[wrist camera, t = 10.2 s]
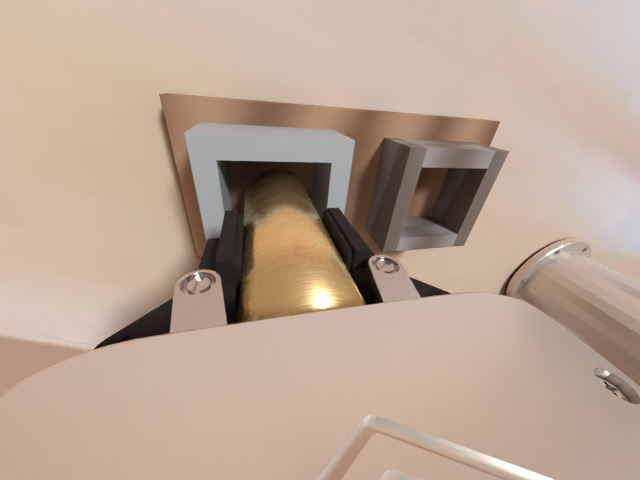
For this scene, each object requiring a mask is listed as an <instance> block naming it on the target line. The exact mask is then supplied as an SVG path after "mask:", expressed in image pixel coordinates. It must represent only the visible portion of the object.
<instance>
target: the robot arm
mask: <svg viewBox="0 0 640 480" xmlns="http://www.w3.org/2000/svg"><path fill="white" fill-rule="evenodd" d="M322 222H323V224H324V226H325V228H326V230H327V232H328V233H329V235H330V237H331V239H332V241H333V243H334V245H335V247H336V248H337V250H338V252H339V254H340V256H341V258H342V260H343V262H344V263H345V265H346V267H347V269H348V271H349V273H350V275H351V276H352V278H353V280H354V282H355V284H356V286H357V288H358V290H359V291H360V293H361V295H362V297H363V299H364V301H365V303H366V305H362V306H355V307H347V308H340V309H333V310H326V311H319V312H311V313H304V314H297V315H290V316H283V317H276V318H269V319H262V320H255V321H248V322H241V323H238V311H239V293H240V283H241V280H242V261H243V240H244V220H243V213H238V210H234V211H225V214H224V219H223V224H222V229H221V233H220V238H209V239H208V240H207V243H206V246H205V250H204V253H203V256H202V260H201V263H200V267H199V270H196V271H193V272H190V273H188V274H185V275H184V276H182V277H181V278H180V279H179V280H178V281H177V282H176V284H175V286H174V294H173V298H172V299H171V300H169V301H167V302H166V303H164V304H163V305H161V306H159V307H158V308H156V309H154V310H153V311H151V312H149V313H148V314H146V315H144V316H143V317H141V318H140V319H138V320H136V321H135V322H133V323H131V324H130V325H128V326H126V327H125V328H123V329H122V330H120V331H118V332H117V333H115V334H113V335H112V336H110V337H108V338H107V339H105V340H104V341H103V342H101V343H100V344H99V345H97V346H96V347H95V349H94V350H91V351H88V352H85V353H82V354H79V355H77V356H74V357H72V358H69V359H67V360H64V361H62V362H59V363H57V364H54V365H52V366H50V367H47V368H45V369H43V370H41V371H39V372H37V373H35V374H33V375H31V376H29V377H27V378H26V379H23V380H22V381H20V382H18V383H17V384H15V385H14V386H12V387H10V388H9V389H8V390H6V391H4V392H3V393H2V394H0V480H640V283H638V282H636V281H634V280H632V279H630V278H628V277H626V276H624V275H622V274H620V273H618V272H616V271H614V270H612V269H610V268H608V267H606V266H604V265H602V264H600V263H598V262H596V261H594V260H592V259H590V255H591V248H590V245H589V244H588V243H586V242H584V241H582V240H580V239H576V238H570V239H564V240H561V241H558V242H556V243H553V244H551V245H549V246H547V247H545V248H544V249H542V250H541V251H539V252H538V253H536V254H535V255H534V256H532V257H531V258H530V259H529V260H527V261H526V262H525V263H524V264H523V265H522V266H521V267H520V268H519V270H518V271H517V272H516V273H515V274H514V276H513V277H512V279H511V280H510V282H509V284H508V287H507V290H506V296H504V295H498V294H492V293H479V292H477V293H456V294H451V293H449V292H446V291H444V290H441V289H439V288H436V287H434V286H431V285H428V284H426V283H423V282H421V281H418V280H416V279H413V278H411V277H409V276H408V274H407V273H406V271H405V269H404V267H403V266H402V264H401V263H400V262H399V261H398V260H396V259H394V258H392V257H390V256H386V255H374V254H373V252H372V251H371V250H370V248H369V247H368V246H367V244H366V243H365V242H364V240H363V239H362V238H361V236H360V235H359V234H358V232H357V231H355V229H354V228H353V226H352V225H351V224H350V222H349V221H348V220H347V218H346V217H345V216H344V214H343V213H342V211H341V210H340V209H339V208H327V211H324V212H323V220H322Z"/></svg>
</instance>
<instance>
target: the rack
mask: <svg viewBox="0 0 640 480" xmlns="http://www.w3.org/2000/svg"><path fill="white" fill-rule="evenodd" d="M184 134H185V139H186V144H187V149H188V154H189V159H190V164H191V169H192V173H193V178H194V183H195V188H196V193H197V198H198V203H199V208H200V212H201V217H202V222H203V227H204V232H205V237H206V242H207V240H208V239H209V238H220V233H221V229H222V224H223V219H224V214H225V211H232V205H231V197H230V189H229V181H228V173H227V165H226V161H273V162H315V165H314V180H313V195H312V204H313V205H314V207H315V209H316V211H317V213H318V215H319V217H320V218H321V220H323V212H324V211H327V208H339V209H340V210H341V211H342V213H343V214H344V213H345V206H346V199H347V193H348V186H349V179H350V172H351V166H352V159H353V152H354V146H355V140H353V139H351V138H349V137H347V136H345V135H343V134H341V133H339V132H337V131H335V130H324V129H307V128H289V127H272V126H255V125H237V124H220V123H203V122H199V123H198V124H196V125H195V126H193V127H192V128H190V129H189V130H187V131H186V132H185V133H184Z"/></svg>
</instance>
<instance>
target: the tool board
mask: <svg viewBox="0 0 640 480" xmlns="http://www.w3.org/2000/svg"><path fill="white" fill-rule="evenodd" d="M159 95H160V99H161V103H162V108H163V112H164V116H165V120H166V125H167V129H168V133H169V137H170V141H171V146H172V150H173V154H174V158H175V162H176V167H177V171H178V175H179V179H180V184H181V188H182V192H183V196H184V200H185V205H186V209H187V213H188V217H189V221H190V226H191V230H192V234H193V238H194V243H195V247H196V251H197V255H198V257H200V256H203V253H204V250H205V246H206V243H207V242H206V237H205V232H204V227H203V222H202V217H201V212H200V208H199V203H198V198H197V193H196V188H195V183H194V178H193V173H192V169H191V164H190V159H189V154H188V149H187V144H186V139H185V134H184V133H185V132H186V131H187V130H189V129H190V128H192V127H193V126H195V125H196V124H198V123H199V122H203V123H220V124H237V125H255V126H272V127H289V128H307V129H324V130H335V131H337V132H339V133H341V134H343V135H345V136H347V137H349V138H351V139H353V140H355V146H354V152H353V159H352V166H351V172H350V179H349V186H348V193H347V199H346V206H345V213H344V216H345V217H346V218H347V220H348V221H349V222H350V224H351V225H352V226H353V228H354V229H355V231H357V232H358V234H359V235H360V236H361V238H362V239H363V240H364V242H365V243H366V244H367V245H368V244H377V246H378V247H379V248H380V249H381V251H382V252H391V251H403V250H415V249H428V248H440V247H452V246H464V244H465V242H466V240H467V238H468V236H469V234H470V232H471V230H472V228H473V226H474V223H475V221H476V219H477V217H478V215H479V213H480V211H481V209H482V207H483V205H484V203H485V201H486V199H487V196H488V194H489V192H490V190H491V188H492V186H493V184H494V182H495V180H496V178H497V176H498V174H499V171H500V169H501V167H502V165H503V163H504V161H505V159H506V157H507V155H508V153H509V151H505V150H501V149H497V148H493V147H489V146H490V144H491V142H492V139H493V137H494V135H495V132H496V130H497V128H498V125H499V123H500V122H498V121H491V120H483V119H471V118H459V117H446V116H434V115H422V114H410V113H398V112H386V111H374V110H362V109H350V108H338V107H325V106H313V105H301V104H289V103H277V102H265V101H253V100H241V99H229V98H217V97H205V96H192V95H180V94H168V93H166V94H159ZM226 165H227V173H228V181H229V189H230V197H231V205H232V211H234V210H238V213H243V220H244V204H245V192H246V189H247V187H248V185H249V183H250V182H251V180H252V179H253V178H254V177H256V176H257V175H258V174H260V173H262V172H265V171H268V170H283V171H286V172H289V173H291V174H292V175H294V176H295V177H296V178H298V179H299V181H300V182H301V183H302V185H303V187H304V189H305V190H306V192H307V194H308V196H309V198H310V200H311V202H312V195H313V180H314V165H315V162H273V161H226Z"/></svg>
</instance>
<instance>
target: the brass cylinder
mask: <svg viewBox="0 0 640 480" xmlns="http://www.w3.org/2000/svg"><path fill="white" fill-rule="evenodd" d="M362 305H366V303H365V301H364V299H363V297H362V295H361V293H360V291H359V290H358V288H357V286H356V284H355V282H354V280H353V278H352V276H351V275H350V273H349V271H348V269H347V267H346V265H345V263H344V262H343V260H342V258H341V256H340V254H339V252H338V250H337V248H336V247H335V245H334V243H333V241H332V239H331V237H330V235H329V233H328V232H327V230H326V228H325V226H324V224H323V222H322V220H321V218H320V217H319V215H318V213H317V211H316V209H315V207H314V205H313V204H312V202H311V200H310V198H309V196H308V194H307V192H306V190H305V189H304V187H303V185H302V183H301V182H300V181H299V179H298V178H296V177H295V176H294V175H292V174H291V173H289V172H286V171H283V170H268V171H265V172H262V173H260V174H258V175H257V176H256V177H254V178H253V179H252V180H251V182H250V183H249V185H248V187H247V189H246V192H245V204H244V240H243V261H242V280H241V283H240V293H239V311H238V323H241V322H248V321H255V320H262V319H269V318H276V317H283V316H290V315H297V314H304V313H311V312H319V311H326V310H333V309H340V308H347V307H355V306H362Z"/></svg>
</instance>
